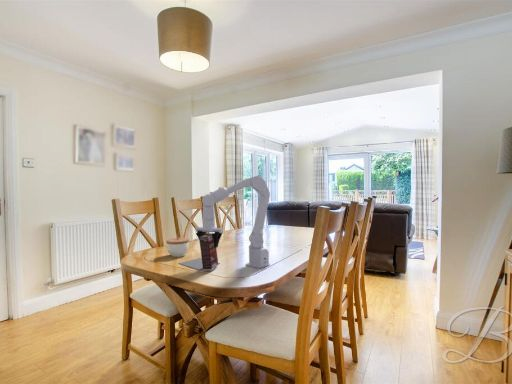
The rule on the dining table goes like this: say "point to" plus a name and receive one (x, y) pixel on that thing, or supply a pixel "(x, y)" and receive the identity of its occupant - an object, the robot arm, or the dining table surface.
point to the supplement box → (208, 252)
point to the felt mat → (194, 264)
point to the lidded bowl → (177, 246)
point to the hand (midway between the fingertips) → (209, 246)
